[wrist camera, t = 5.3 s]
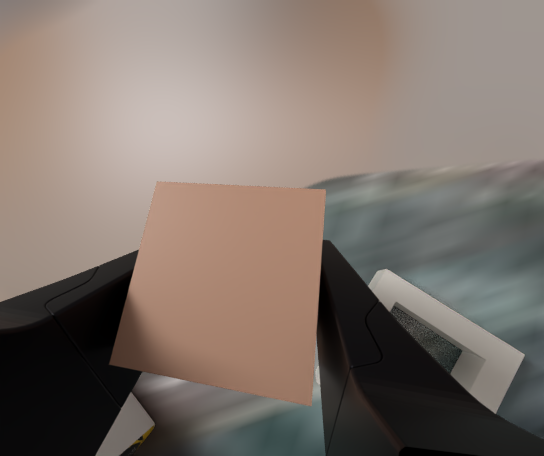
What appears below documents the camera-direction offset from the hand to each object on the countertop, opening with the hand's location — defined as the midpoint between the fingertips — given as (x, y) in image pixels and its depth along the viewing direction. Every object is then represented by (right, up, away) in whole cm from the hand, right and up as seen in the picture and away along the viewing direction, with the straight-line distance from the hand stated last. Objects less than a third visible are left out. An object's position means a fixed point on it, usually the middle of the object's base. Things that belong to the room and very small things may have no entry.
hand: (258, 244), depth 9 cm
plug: (+1, -3, +6) cm, 7 cm away
